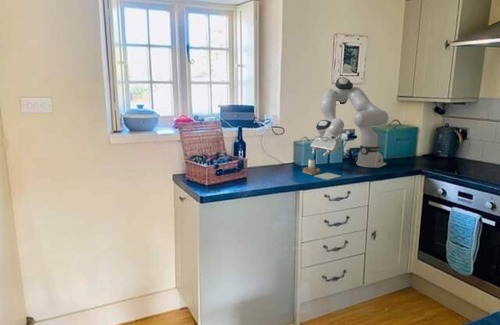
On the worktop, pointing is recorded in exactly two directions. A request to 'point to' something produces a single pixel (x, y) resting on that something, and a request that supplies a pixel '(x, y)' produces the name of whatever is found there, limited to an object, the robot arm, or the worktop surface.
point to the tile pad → (327, 176)
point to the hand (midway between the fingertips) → (318, 155)
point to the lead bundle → (311, 164)
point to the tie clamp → (311, 171)
